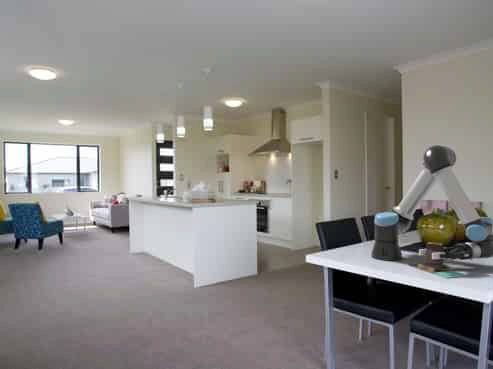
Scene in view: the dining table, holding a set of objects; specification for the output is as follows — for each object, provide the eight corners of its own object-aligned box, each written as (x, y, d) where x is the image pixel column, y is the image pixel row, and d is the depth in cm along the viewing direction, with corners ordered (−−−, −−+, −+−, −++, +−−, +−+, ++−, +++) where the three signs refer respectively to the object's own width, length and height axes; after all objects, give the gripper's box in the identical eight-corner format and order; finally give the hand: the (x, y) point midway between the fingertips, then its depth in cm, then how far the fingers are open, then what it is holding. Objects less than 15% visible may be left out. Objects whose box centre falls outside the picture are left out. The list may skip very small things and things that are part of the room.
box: (443, 269, 156) (443, 243, 156) (440, 271, 153) (441, 244, 152) (429, 267, 160) (429, 241, 160) (426, 269, 157) (426, 243, 156)
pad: (432, 273, 150) (432, 272, 150) (453, 271, 153) (453, 270, 153) (446, 278, 143) (446, 277, 143) (467, 276, 146) (467, 275, 146)
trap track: (408, 265, 165) (408, 261, 165) (427, 263, 168) (427, 259, 168) (432, 273, 150) (432, 269, 150) (453, 271, 153) (453, 267, 153)
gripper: (486, 264, 151) (443, 268, 145) (448, 254, 170) (410, 257, 165) (486, 247, 151) (443, 250, 145) (449, 239, 170) (410, 242, 164)
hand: (426, 254), depth 155 cm, fingers closed on box, 7 cm apart
